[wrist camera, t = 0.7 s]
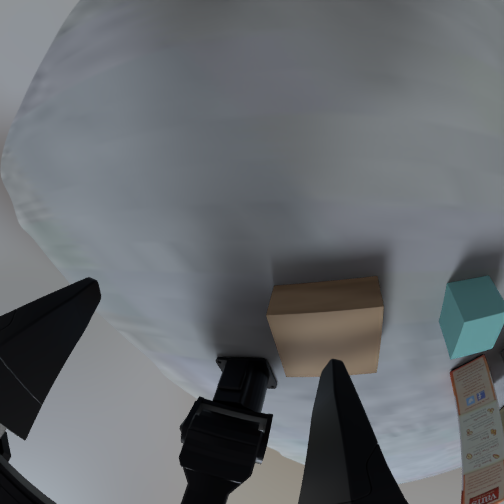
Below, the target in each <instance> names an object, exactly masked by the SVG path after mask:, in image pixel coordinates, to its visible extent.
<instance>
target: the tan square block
mask: <svg viewBox="0 0 504 504" xmlns="http://www.w3.org/2000/svg"><path fill="white" fill-rule="evenodd" d="M383 309H384V305H383V300H382V295H381V291H380V286H379V281H378V277H377V276H372V277H363V278H354V279H344V280H334V281H323V282H312V283H301V284H289V285H276V286H274V287H273V291H272V295H271V299H270V303H269V306H268V310H267V314H266V316H267V320H268V323H269V326H270V329H271V332H272V335H273V338H274V341H275V344H276V347H277V350H278V353H279V356H280V359H281V362H282V365H283V368H284V371H285V374H286V377H320V375H321V372H322V370H323V369H324V368H325V366H326V365H327V364H328V362H329V361H330V360H331V359H338V360H341V361H343V363H344V365H345V367H346V369H347V371H348V374H349V375H357V374H368V373H377V366H378V359H379V351H380V343H381V333H382V322H383Z"/></svg>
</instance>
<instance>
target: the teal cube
mask: <svg viewBox="0 0 504 504" xmlns="http://www.w3.org/2000/svg"><path fill="white" fill-rule="evenodd" d="M439 323H440V326H441V329H442V333H443V336H444V339H445V342H446V346H447V349H448V353H449V356H450V360H451V359H455V358H459V357H463V356H467V355H471V354H475V353H479V352H482V351H486V350H489V349H492V348H493V346H494V344H495V342H496V340H497V338H498V336H499V333H500V331H501V329H502V327H503V324H504V300H503V298H502V297H501V295H500V293H499V292H498V290H497V288H496V287H495V285H494V283H493V282H492V280H491V278H490V277H489V275H488V276H483V277H478V278H473V279H467V280H462V281H456V282H451V283H447V286H446V292H445V297H444V302H443V306H442V311H441V315H440V319H439Z"/></svg>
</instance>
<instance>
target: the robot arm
mask: <svg viewBox="0 0 504 504" xmlns="http://www.w3.org/2000/svg"><path fill="white" fill-rule="evenodd" d="M100 300H101V293H100V288H99V284H98V282H97V280H95V279H93V278H90V277H88V278H85V279H83V280H80V281H78V282H76V283H73V284H71V285H69V286H67V287H64V288H62V289H60V290H57V291H55V292H53V293H50V294H48V295H46V296H44V297H41V298H39V299H37V300H35V301H33V302H30V303H28V304H26V305H24V306H22V307H19V308H17V309H15V310H13V311H11V312H9V313H6V314H4V315H2V316H0V504H56V503H55V502H54V501H52V500H51V499H50V498H48V497H47V496H46V495H45V494H43V493H42V492H41V491H39V490H38V489H37V488H36V487H35V486H33V485H32V484H31V483H30V482H29V481H28V480H27V479H25V478H24V477H23V476H22V475H21V474H20V473H19V472H18V471H17V470H16V469H15V468H13V467H12V466H11V465H10V464H9V463H8V461H9V459H10V457H11V453H10V448H9V443H8V438H7V432H6V431H5V430H6V428H7V429H9V430H10V431H11V432H13V433H14V434H16V435H17V436H19V437H20V438H22V439H23V440H26V438H27V436H28V434H29V432H30V429H31V427H32V425H33V423H34V420H35V419H36V417H37V415H38V413H39V410H40V408H41V406H42V404H43V402H44V400H45V398H46V396H47V395H48V393H49V391H50V389H51V387H52V385H53V383H54V381H55V380H56V378H57V376H58V374H59V373H60V371H61V369H62V367H63V366H64V364H65V362H66V360H67V359H68V357H69V355H70V354H71V352H72V350H73V349H74V347H75V345H76V343H77V342H78V341H79V339H80V337H81V336H82V334H83V333H84V331H85V329H86V327H87V325H88V323H89V321H90V319H91V317H92V315H93V313H94V312H95V310H96V308H97V306H98V304H99V302H100ZM216 363H217V364H218V366H219V368H220V369H221V371H222V375H221V377H220V380H219V383H218V386H217V390H216V393H215V395H214V398H213V401H211V400H207V399H204V398H203V397H200V396H199V398H198V400H197V401H195V403H194V405H193V407H192V409H191V410H190V412H189V414H188V416H187V418H186V419H185V420H184V421H183V423H182V424H181V425H180V431H181V443H183V447H182V450H181V453H180V455H179V460H180V465H181V466H182V467H183V469H184V472H185V476H186V479H187V482H188V485H187V487H186V490H185V494H184V496H183V499H182V502H181V504H226V502H227V499H228V496H229V494H230V493H231V492H232V491H234V489H236V488H237V487H238V486H240V485H241V484H242V483H243V482H244V481H246V480H247V479H248V478H249V477H250V476H251V474H252V471H253V468H254V464H255V463H258V464H261V463H262V461H263V458H264V454H265V451H266V447H267V443H268V438H269V433H270V428H271V423H272V418H273V414H264V413H261V411H262V407H263V403H264V399H265V394H266V390H267V388H268V389H275V388H276V387H277V384H276V381H275V379H274V377H273V374H272V372H271V369H270V367H269V365H268V362H267V360H266V359H263V358H227V357H217V359H216ZM260 430H263V432H262V431H260ZM298 504H408V502H407V501H406V499H405V498H404V496H403V494H402V492H401V490H400V488H399V487H398V485H397V483H396V481H395V479H394V477H393V475H392V473H391V471H390V469H389V467H388V465H387V463H386V461H385V458H384V456H383V454H382V451H381V449H380V446H379V444H378V442H377V439H376V437H375V434H374V432H373V429H372V427H371V425H370V422H369V420H368V417H367V415H366V413H365V410H364V408H363V406H362V403H361V401H360V399H359V396H358V394H357V392H356V389H355V387H354V385H353V383H352V380H351V378H350V376H349V374H348V371H347V369H346V367H345V365H344V363H343V361H341V360H338V359H331V360H330V361H329V362H328V364H327V365H326V366H325V368H324V369H323V370H322V372H321V375H320V380H319V385H318V389H317V394H316V398H315V403H314V407H313V412H312V418H311V426H310V434H309V442H308V449H307V456H306V462H305V469H304V475H303V480H302V486H301V491H300V497H299V502H298Z"/></svg>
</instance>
